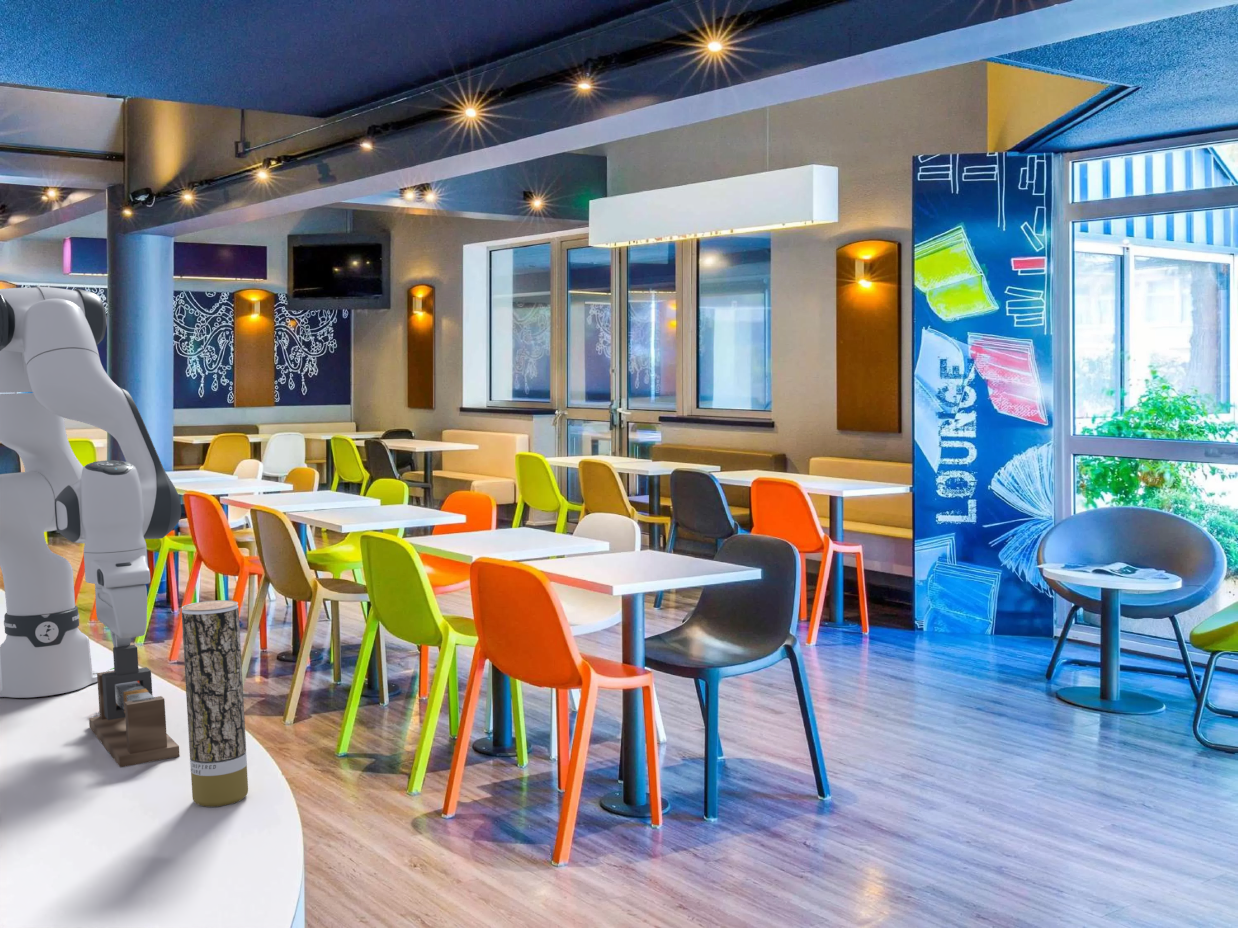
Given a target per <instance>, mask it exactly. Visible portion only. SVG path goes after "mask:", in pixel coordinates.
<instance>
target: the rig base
mask: <svg viewBox="0 0 1238 928" xmlns="http://www.w3.org/2000/svg"><path fill="white" fill-rule="evenodd" d="M110 672H114V670H109V671H108V670H107V672H106V671H102V672H98V673H97V680H98V682H97V693H98V694H97V695H98V710H99V716H93V717H89V718H88V724H89V725H88V726H89V729H90V730H91V731H92V732H93V734H94V735H95V737H96V738H97V739H98V741H99V742H100V743H101V744H102V746H103V747H104V748H105V750H106V751H107V753H109V755H110V756H111V757H112V758H113V760H114V762H115V763H116V764H117V765H118V767H119V768H125V767H129V766H135V765H140V764H145V763H146V764H147V763H150V762H152V763H153V762H156V761H157V762H158V761H161V760H167V759H172V757H173V758H177V757H180V745H178V744H177V742H176V741H175V740H174V739H173V738H172V737H171V736H170V735H169V734H168V733H167V721H166V720H167V719H166V705H165V703H166V702H165V700H166V699H165V698H164V697H163V696H162V695H160V696H153V697H152V698H155V699H151V698H150V699H149V698H146V699H149V700H146V699H145V700H144V701H140V700H139V701H137V700H136V701H137V702H135V701H134V702H133V701H127V702H124V704H125V717H124V718H118V719H112V720H108V719H107V718H106V717H105V715H104V698H103V682H102V674H105V673H110ZM116 706H118V704H117V703H116Z"/></svg>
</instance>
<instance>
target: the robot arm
mask: <svg viewBox="0 0 1238 928" xmlns="http://www.w3.org/2000/svg"><path fill="white" fill-rule="evenodd" d="M107 319H108V318H107V313H106V309H105V305H104V303H103V301H102V299H101V298H100V297H99V296H98V295H97V293H94V292H92V291H88V290H85V289H84V290H83V289H79V288H74V289H67V288H61V287H60V288H59V287H49V286H34V287H11V288H10V287H9V288H0V444H2V445H4V446H5V447H7V448H9V449H11V450H13V451H15V452H16V453H17V455H18V456H19V457H20V459H21V461H22V464H23V467H24V468H23V469H24V471H20V472H10V473H1V474H0V569H1V573H2V579H3V587H4V596H5V608H6V612H5V614H4V617H3V618H4V619H3V626H4V634H5V635H6V637H5V639H4V641H3V642H2V643H1V644H0V698H3V697H4V698H17V699H18V698H19V699H20V698H22V699H23V698H37V697H48V696H54V695H60V694H64V693H70V692H73V691H76V690H77V691H78V690H81V689H83V688H85V687H87V686H89V685H91V684H96V683H98V680H97V673H99V672H97V671H95V670H93V664H92V655H91V647H90V646H91V645H90V637H89V636H87V635H86V634H85V633H83V632H82V631H81V630H80V629H79V626H80V613H79V607H78V606H77V605H76V600H75V599H76V598H75V597H76V596H75V582H74V581H75V580H74V569H73V566H72V565H71V563H70V561H69V560H68V559H67V558H65V557H64V556H61V555H59V554H57V553H55V552H53V551H52V550H51V549H50V547H49V546H48V544H47V541H46V537H45V532H51V531H53V532H54V531H57V532H58V533H59V534H60V535H61V536H62V537H63V538H65V539H66V540H68V541H70V542H71V543H77V544H84V546H83V562H84V563H83V565H84V575H85V576H84V578H85V582H86V583H87V584H94V588H95V589H94V591H95V593H94V594H95V614H96V617H97V620H98V621H99V622H100V623H101V624H103V625H104V627H107V629H108V630H109V631H110V637H111V641H112V644H113V648H114V647H121V646H129V645H131V643H132V638H138V637H143V636H144V635H145V634H146V630H147V623H148V591H147V590H148V589H147V584H150V583H151V571H150V568H149V564H148V563H149V562H148V549H147V548H148V547H147V543H146V540H153V539H154V540H155V539H158V540H161V539H163V538H165V537H166V536H167V535H168V534H169V533H171V532H172V531H173V529H175V527H176V526H177V525H178V523H179V522H180V520H181V516H182V505H181V499H180V496H179V494H178V490H177V488H176V486H175V485H174V484H173V482H172V480H171V479H170V477H169V475H168V474H167V472H166V470H165V468H164V466H163V463H162V461H161V459H160V457H159V454H158V452H157V450H156V446H155V445H154V443H153V441H152V438H151V436H150V433H149V431H148V429H147V425H146V423H145V422H144V420H143V417H142V415H141V412H140V410H139V409H138V407H137V404H136V402H135V401H134V399H133V397H132V395H131V394H130V393H129V391H128V390H127V389H124V388H122V387H119V386H118V385H117V384H116V383H115V382H114V381H113V380H112V379H111V377H110V376H109V375H108V373H107V372H106V370H105V368H104V366H103V365H102V361H101V358H100V354H99V350H98V345H99V344H100V343H101V342H102V341H103V340H104V338H105V335H106V332H107V330H106V329H107V322H108V321H107ZM65 419H67V420H72V421H76V422H80V423H83V424H87V425H90V426H93V427H95V428H99V429H101V430H103V431H105V432H106V433H108V434H109V435H111V436H112V437H113V438H114V439H115V440H116V442H117V443H118V445H119V448H120V451H121V452H122V454H123V457H124V460H125V461H123V460H114V459H113V460H112V459H111V460H97V461H93V462H90V463H88V464H85V465H84V466H83V464H82V463H81V462H80V460H79V459H78V458H77V457H76V455H75V453H74V450H73V449H72V447H71V444H70V442H69V438H68V435H67V431H66V423H65Z"/></svg>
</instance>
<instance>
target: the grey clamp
mask: <svg viewBox="0 0 1238 928" xmlns="http://www.w3.org/2000/svg"><path fill="white" fill-rule="evenodd" d="M112 654H113V656H112V657H113V658H112V659H113V668H114V669H113V671H114V672H112V673H105V674H102V682H103V698H104V715H105V717H106V718H107V719H108V720H112V719H118V718H124V717H125V712H124V711H123V710H122V709H121V708H120V707H119V706H116V697H115V684H120V683H127V682H133V681H139V684H140V685H142V686H143V687H144V688H145V689H147V690H148V692H149V693H150V694H151V695H152V696H153V684H152V683H153V680H152V679H153V678H152V670H151V669H150V668H149V667H147V666H145V667H139V655H138V646H136V645H135V644H130V645H129V646H121V647H114V646H113V647H112ZM138 668H139V669H138Z"/></svg>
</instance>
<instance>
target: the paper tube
mask: <svg viewBox="0 0 1238 928" xmlns="http://www.w3.org/2000/svg"><path fill="white" fill-rule="evenodd" d="M238 604H239V602H238V601H235V600H227V599H226V600H207V601H206V600H205V601H199V602H192V603H188V604H185V605H183V606H182V607H181V622H182V623H181V624H182V641H183V655H184V656H183V660H184V678H185V695H186V713H187V727H188V728H187V729H188V730H187V732H188V745H189V746H188V750H189V764H190V766H189V767H190V776H191V779H190V780H191V793H192V794H191V795H192V797H191V798H192V800H193V802H194V803H195V804H197V805H198V806H202V807H207V808H208V807H210V808H211V807H212V808H213V807H215V808H217V807H223V806H229V805H232V804H235V803H238V802H240V801H242V800H243V799H245V798H246V797H247V796H248V793H249V784H248V783H249V782H248V780H249V779H248V759H247V755H248V754H247V742H246V741H247V739H246V720H245V701H244V687H243V686H244V685H243V683H244V682H243V670H242V669H243V666H242V664H243V663H242V647H241V645H242V644H241V629H240V628H241V626H240V614H239V613H240V609H239V605H238Z"/></svg>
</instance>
